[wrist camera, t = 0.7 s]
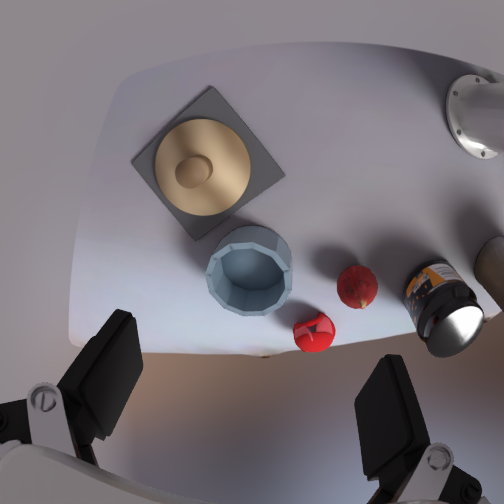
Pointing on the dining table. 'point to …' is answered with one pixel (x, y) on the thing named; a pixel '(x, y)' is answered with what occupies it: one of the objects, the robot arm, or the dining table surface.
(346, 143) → the dining table surface
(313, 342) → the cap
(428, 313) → the supplement container
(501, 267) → the pillar candle
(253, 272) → the bowl
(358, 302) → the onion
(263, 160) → the mat
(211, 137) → the lid
